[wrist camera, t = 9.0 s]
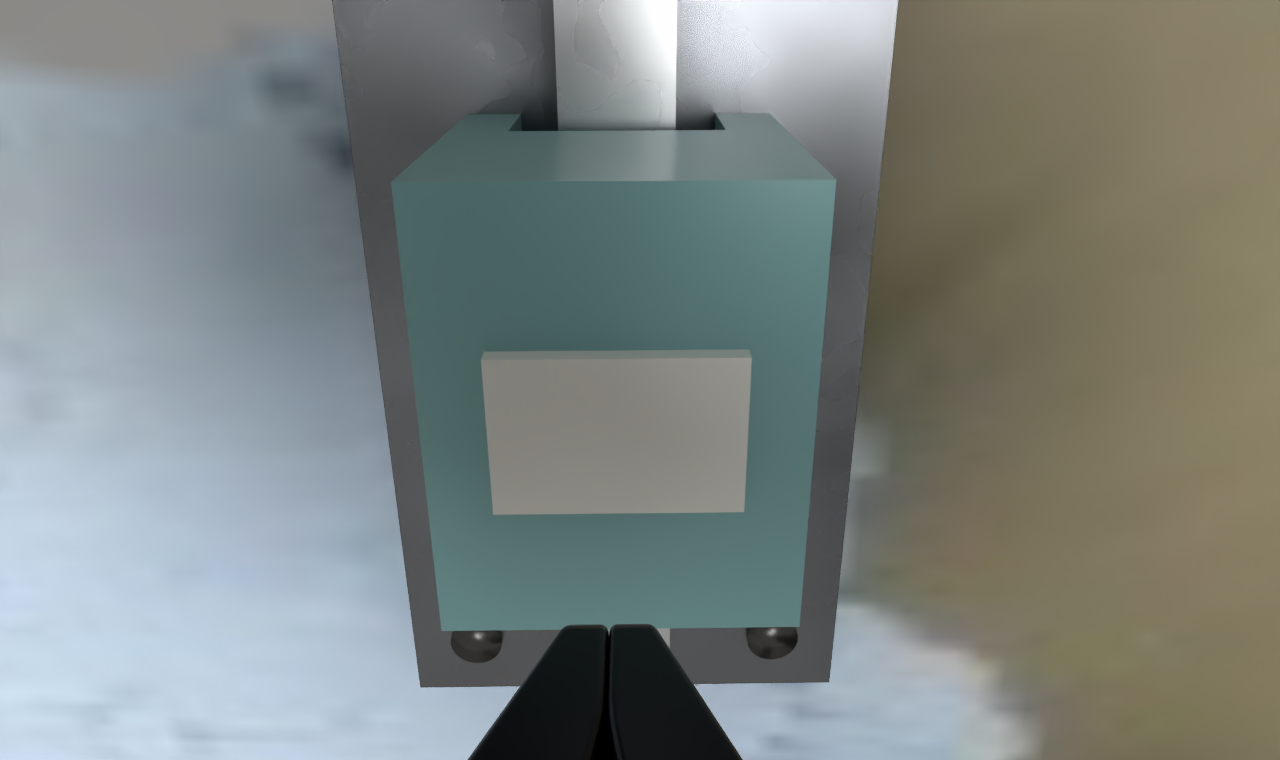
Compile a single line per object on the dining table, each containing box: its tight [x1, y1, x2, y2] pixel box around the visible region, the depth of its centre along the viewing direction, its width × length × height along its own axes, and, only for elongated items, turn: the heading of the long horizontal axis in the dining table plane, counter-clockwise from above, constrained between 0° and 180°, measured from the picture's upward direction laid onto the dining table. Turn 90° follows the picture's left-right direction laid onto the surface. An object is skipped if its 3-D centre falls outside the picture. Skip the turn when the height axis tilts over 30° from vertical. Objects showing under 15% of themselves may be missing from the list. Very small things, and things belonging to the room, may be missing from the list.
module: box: [391, 113, 836, 631], centre depth 16 cm, size 7×6×6 cm
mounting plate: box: [332, 0, 898, 687], centre depth 18 cm, size 20×10×2 cm, turn 0°
